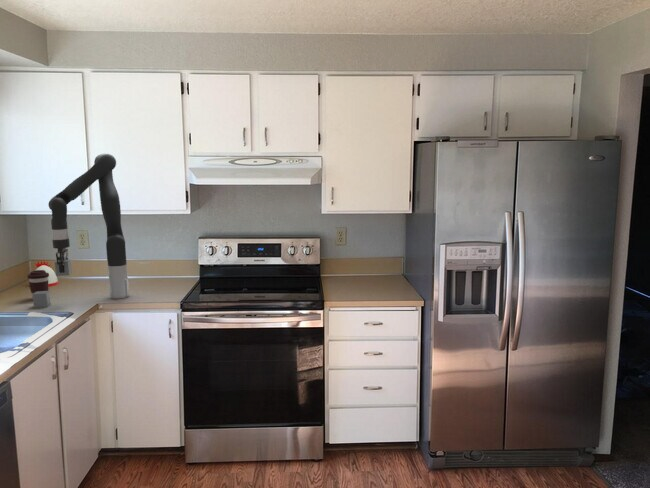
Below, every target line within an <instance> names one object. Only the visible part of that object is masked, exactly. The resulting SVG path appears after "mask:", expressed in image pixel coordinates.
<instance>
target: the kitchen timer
mask: <svg viewBox="0 0 650 488" xmlns="http://www.w3.org/2000/svg"><path fill="white" fill-rule="evenodd" d="M48 262H49V261H46V260H45V259H44V260H40V261H39V260H37V263H36V262H35V263H34V264H35V266H36V269H35V270H34V271H36V270H45V271H46V273H49V277H48V288H50V287H54V286H57V285H59V280H58V276H56V271H54V270H53V268H52V267H51V264H52V263H51V262H50V263H49V265H48Z"/></svg>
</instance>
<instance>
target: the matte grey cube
mask: <svg viewBox="0 0 650 488" xmlns="http://www.w3.org/2000/svg"><path fill="white" fill-rule="evenodd" d="M60 262H61V261H60ZM54 268H55V269H54V270H55V271H54V272H55V274H56V276H57V277H62V276H63V277H64V276H70V275H71V274H72V273H73V271H72V261H71V259H69V258H68V260H65V261H64V270H65V272H64V273H60V272H59V265H57V260H55V261H54Z"/></svg>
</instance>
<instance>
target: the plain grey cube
mask: <svg viewBox="0 0 650 488" xmlns="http://www.w3.org/2000/svg"><path fill="white" fill-rule="evenodd" d="M32 301H33V308H34V309H40V308H42V309H44V308H48V307H49V306H50V305H51V295H50V290H48V291H37V292H35V293H34V294H33V299H32Z"/></svg>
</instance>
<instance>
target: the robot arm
mask: <svg viewBox="0 0 650 488" xmlns="http://www.w3.org/2000/svg"><path fill="white" fill-rule="evenodd" d="M116 166H117V159H116V157H115V156H114V155H113V154H110V153H100V154H98V155H97V156H96V157H95V158H94V164H93V165H92V166H90V168H89V169H88V170H86V172H84V173H83V174H81V175H80V176H78V177H77V178H75V179H74V180H72V182H71V183H69V184H68V185H67V186H65V188H63V190H62V191H60V192H59V193H57V194H55V195H54V196H52V197H51V199H50V200H49V202H48V207H49V210H50V211H51V220H50V223H51V240H52V248H53V249H57V251H56V252H55V258H56V261H57V265H59V272H60V273H64V272H65V270H64V261H65V260H68V259H69V253H68V252H69V249H68V248H69V247H70V246H71V245H70V234H69V228H68V220H67V217H68V204H69V203H71V202H72V201H75V200H76V199H77V198H78V197H80V196H81V195H82V194H83V193H85V191H86V190H87V189H88V188H89V187H91V186H92V185H93V184H94V183H95V182H96V181H98V189H99V201H100V208H101V213H102V217H103V219H104V223H105V229H106V242H105V250H106V261H107V270H108V271H107V272H108V283H109V298H110V299H125V298H128V297H129V296H130V286H129V277H128V268H127V267H128V266H127V265H128V264H127V254H126V253H127V250H126V240H125V237H124V234H123V230H122V229H123V228H122V213H121V212H122V210H121V201H120V196H119V192H118V189H117V187H116V185H115V182H114V175H113V170H114V169H115V168H116ZM60 261H61V262H60Z"/></svg>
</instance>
